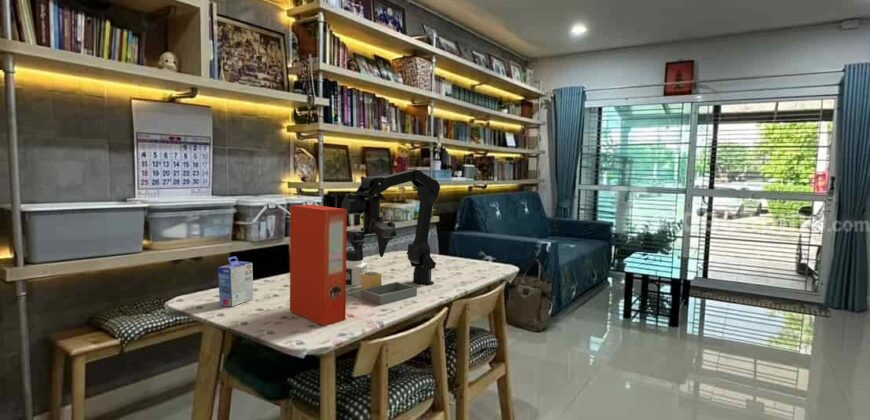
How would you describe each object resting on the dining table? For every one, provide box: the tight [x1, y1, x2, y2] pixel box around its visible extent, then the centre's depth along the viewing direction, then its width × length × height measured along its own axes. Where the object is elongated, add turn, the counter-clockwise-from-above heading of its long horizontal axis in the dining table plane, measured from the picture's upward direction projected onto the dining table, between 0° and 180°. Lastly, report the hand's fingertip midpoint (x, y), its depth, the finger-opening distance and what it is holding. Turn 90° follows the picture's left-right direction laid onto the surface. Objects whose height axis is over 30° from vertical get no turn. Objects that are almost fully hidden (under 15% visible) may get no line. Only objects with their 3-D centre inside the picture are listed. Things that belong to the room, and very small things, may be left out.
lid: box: [346, 286, 361, 299], centre depth 163 cm, size 16×10×2 cm, turn 137°
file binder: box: [289, 204, 348, 326], centre depth 136 cm, size 8×17×32 cm, turn 46°
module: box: [361, 271, 382, 290], centre depth 162 cm, size 5×5×6 cm
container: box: [346, 248, 368, 288], centre depth 174 cm, size 8×8×13 cm
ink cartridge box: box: [217, 255, 254, 308], centre depth 148 cm, size 10×6×14 cm, turn 161°
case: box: [360, 281, 418, 306], centre depth 156 cm, size 16×11×4 cm, turn 137°
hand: (371, 258), depth 162 cm, fingers open, 9 cm apart
